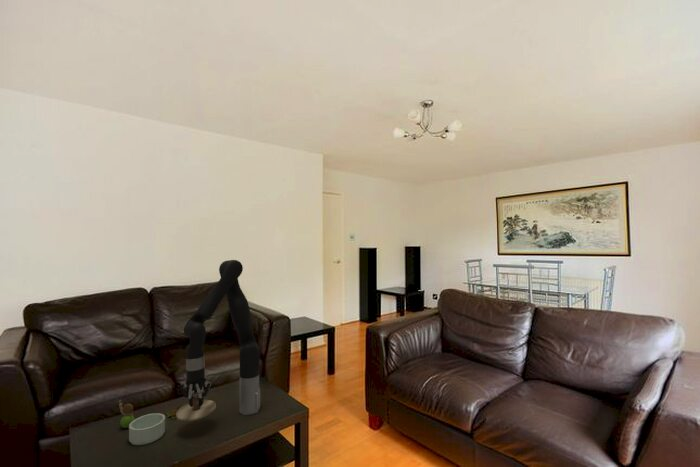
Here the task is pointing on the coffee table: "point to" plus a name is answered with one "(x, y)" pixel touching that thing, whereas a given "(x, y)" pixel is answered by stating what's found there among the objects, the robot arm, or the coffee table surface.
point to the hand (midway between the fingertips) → (196, 405)
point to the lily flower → (173, 412)
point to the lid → (195, 410)
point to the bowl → (146, 429)
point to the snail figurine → (126, 415)
